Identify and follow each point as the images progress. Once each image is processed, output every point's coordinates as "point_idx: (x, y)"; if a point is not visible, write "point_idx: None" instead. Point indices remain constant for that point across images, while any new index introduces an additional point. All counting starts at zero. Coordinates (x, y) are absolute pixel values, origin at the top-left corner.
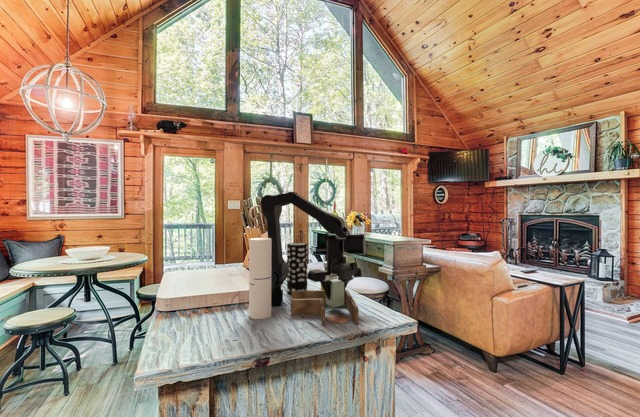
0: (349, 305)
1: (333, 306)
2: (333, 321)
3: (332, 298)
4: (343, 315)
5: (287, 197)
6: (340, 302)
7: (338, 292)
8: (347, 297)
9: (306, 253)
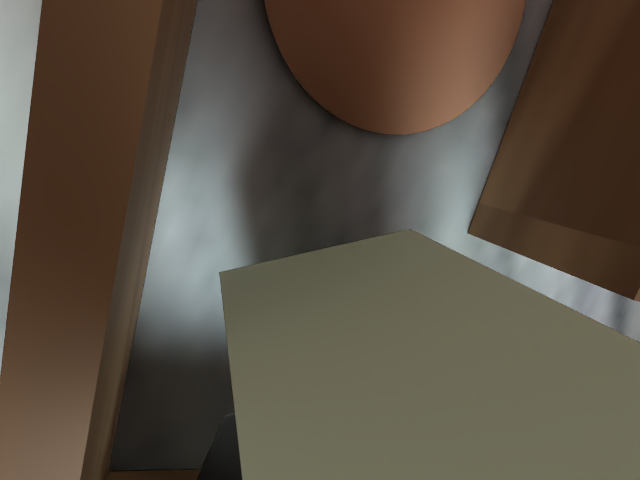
0: (158, 155)
1: (401, 235)
2: None
3: (498, 279)
4: (303, 50)
5: None
6: (298, 275)
7: (443, 375)
8: (98, 429)
9: None
